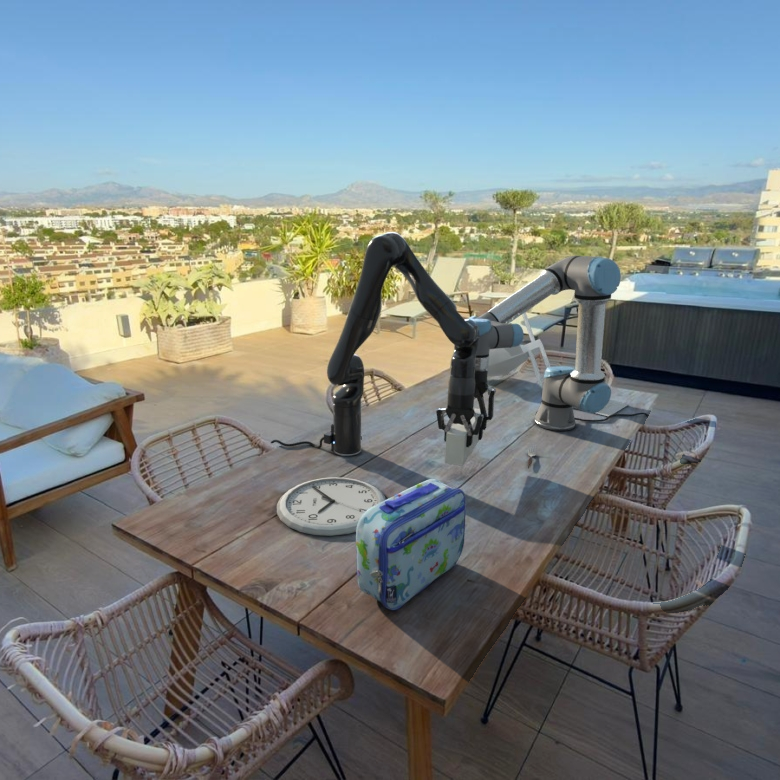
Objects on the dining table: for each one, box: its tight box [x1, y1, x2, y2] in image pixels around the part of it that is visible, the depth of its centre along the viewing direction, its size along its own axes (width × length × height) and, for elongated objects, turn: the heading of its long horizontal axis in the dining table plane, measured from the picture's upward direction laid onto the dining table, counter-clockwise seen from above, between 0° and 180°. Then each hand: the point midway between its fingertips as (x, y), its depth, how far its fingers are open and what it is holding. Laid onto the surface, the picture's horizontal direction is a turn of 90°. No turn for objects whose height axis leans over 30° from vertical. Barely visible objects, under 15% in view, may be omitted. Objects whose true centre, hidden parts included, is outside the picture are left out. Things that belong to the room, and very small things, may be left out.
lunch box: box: [355, 478, 466, 611], centre depth 110 cm, size 26×11×21 cm, turn 134°
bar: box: [444, 407, 481, 467], centre depth 162 cm, size 25×5×9 cm, turn 158°
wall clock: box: [276, 476, 387, 537], centre depth 142 cm, size 30×2×30 cm
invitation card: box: [573, 400, 629, 417], centre depth 226 cm, size 21×1×15 cm
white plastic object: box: [487, 312, 551, 390], centre depth 256 cm, size 37×45×31 cm
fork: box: [527, 445, 537, 469], centre depth 172 cm, size 3×16×2 cm, turn 160°
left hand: (458, 444), depth 154 cm, fingers closed on bar, 5 cm apart
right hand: (471, 436), depth 171 cm, fingers closed on bar, 5 cm apart
